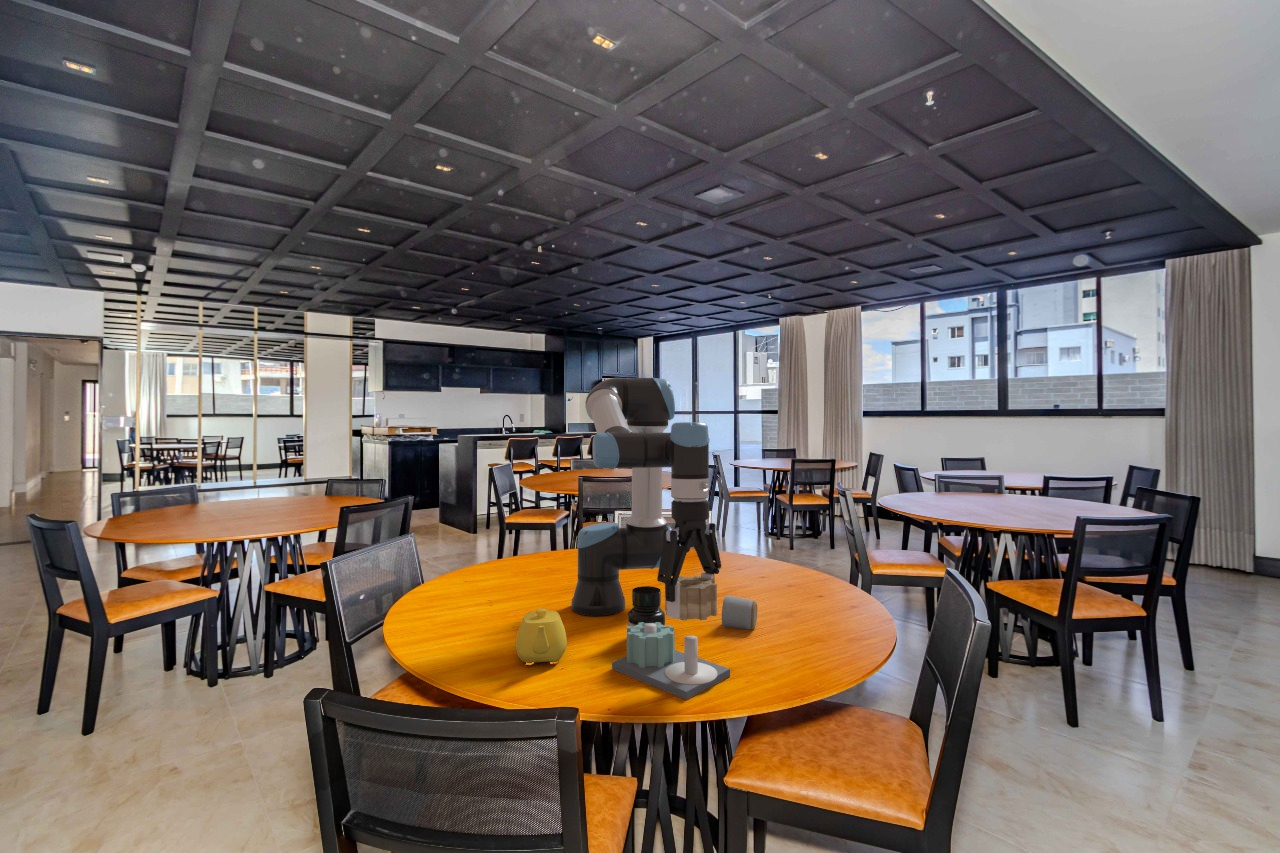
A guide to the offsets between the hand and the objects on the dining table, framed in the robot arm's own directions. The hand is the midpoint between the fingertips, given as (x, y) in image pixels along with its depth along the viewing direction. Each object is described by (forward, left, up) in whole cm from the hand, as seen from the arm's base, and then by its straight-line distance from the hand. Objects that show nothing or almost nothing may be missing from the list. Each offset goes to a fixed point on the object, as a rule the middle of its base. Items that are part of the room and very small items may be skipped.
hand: (691, 611), depth 114 cm
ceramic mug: (-12, +34, -14) cm, 39 cm away
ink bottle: (-22, +10, -14) cm, 28 cm away
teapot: (-31, -14, -14) cm, 36 cm away
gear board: (-6, 0, -14) cm, 15 cm away
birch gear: (0, 0, 0) cm, 0 cm away
